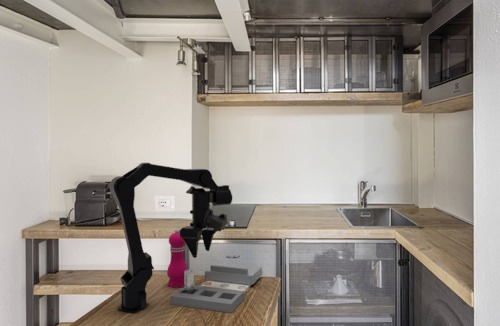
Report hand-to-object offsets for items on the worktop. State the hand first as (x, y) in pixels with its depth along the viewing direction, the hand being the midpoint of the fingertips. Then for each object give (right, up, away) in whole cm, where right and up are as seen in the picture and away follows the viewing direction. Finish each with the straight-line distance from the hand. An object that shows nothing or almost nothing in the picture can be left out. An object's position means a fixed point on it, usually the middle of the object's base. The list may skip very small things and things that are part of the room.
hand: (201, 254), depth 118 cm
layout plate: (+7, -13, +5) cm, 16 cm away
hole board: (+3, -13, -7) cm, 15 cm away
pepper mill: (-10, -13, +9) cm, 19 cm away
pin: (-3, -13, -5) cm, 14 cm away
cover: (+10, -13, +14) cm, 21 cm away
